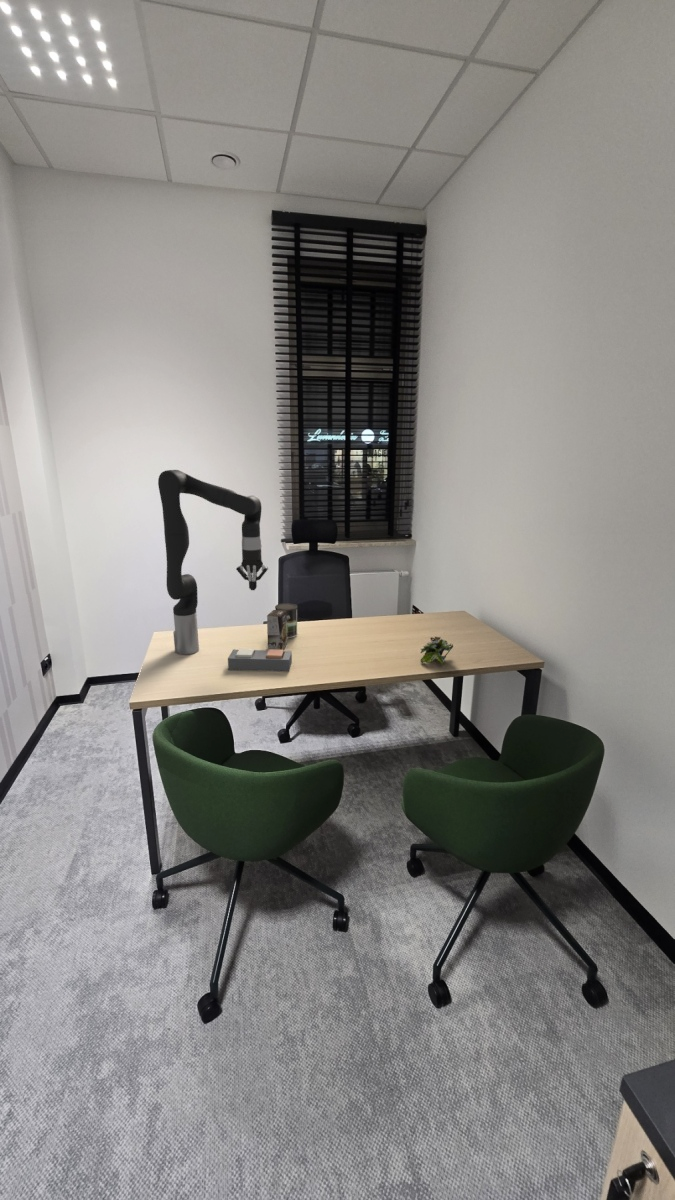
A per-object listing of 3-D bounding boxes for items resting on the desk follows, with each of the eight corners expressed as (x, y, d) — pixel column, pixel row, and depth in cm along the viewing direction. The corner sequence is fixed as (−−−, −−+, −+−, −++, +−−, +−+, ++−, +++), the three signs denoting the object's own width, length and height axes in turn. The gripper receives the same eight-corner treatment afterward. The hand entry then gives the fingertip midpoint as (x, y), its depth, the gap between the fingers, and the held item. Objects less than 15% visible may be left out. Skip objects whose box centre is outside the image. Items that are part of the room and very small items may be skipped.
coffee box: (281, 652, 208) (280, 616, 203) (267, 650, 209) (266, 615, 205) (287, 644, 217) (287, 610, 212) (274, 643, 218) (273, 609, 213)
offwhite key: (236, 661, 190) (236, 654, 189) (239, 655, 196) (239, 648, 195) (251, 662, 190) (251, 654, 189) (254, 655, 196) (254, 649, 195)
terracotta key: (266, 662, 190) (266, 655, 189) (269, 656, 196) (269, 649, 195) (281, 662, 190) (281, 655, 189) (283, 656, 196) (283, 649, 195)
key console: (228, 670, 190) (227, 658, 188) (233, 660, 198) (233, 649, 197) (289, 671, 189) (289, 659, 188) (291, 662, 198) (291, 650, 197)
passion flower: (432, 671, 206) (447, 643, 207) (448, 678, 195) (464, 649, 196) (410, 657, 202) (425, 629, 203) (425, 663, 191) (441, 634, 192)
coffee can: (292, 639, 222) (292, 610, 218) (272, 637, 225) (271, 608, 221) (300, 632, 232) (300, 604, 228) (281, 629, 234) (280, 602, 230)
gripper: (232, 549, 187) (234, 592, 192) (266, 549, 187) (267, 592, 192) (236, 545, 194) (238, 587, 199) (269, 546, 194) (270, 587, 199)
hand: (253, 589), depth 195 cm, fingers closed
